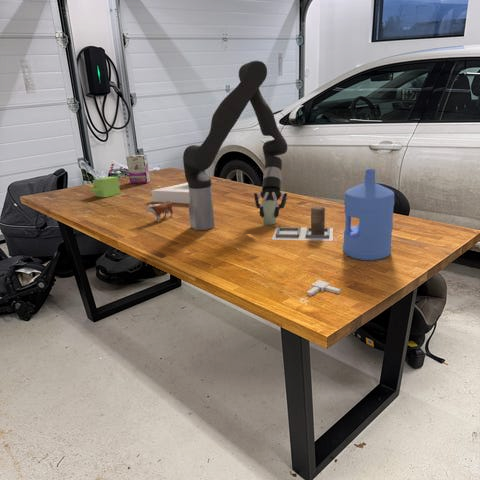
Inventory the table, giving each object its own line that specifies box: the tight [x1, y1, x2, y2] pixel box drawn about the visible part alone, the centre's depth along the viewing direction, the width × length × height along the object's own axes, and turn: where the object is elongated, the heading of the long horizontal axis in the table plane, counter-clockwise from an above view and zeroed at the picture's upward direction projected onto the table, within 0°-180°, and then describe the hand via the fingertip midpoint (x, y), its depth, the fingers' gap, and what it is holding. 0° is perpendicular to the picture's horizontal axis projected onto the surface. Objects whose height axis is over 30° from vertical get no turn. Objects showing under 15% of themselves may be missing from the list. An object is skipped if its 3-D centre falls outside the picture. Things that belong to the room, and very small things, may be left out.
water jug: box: [342, 168, 395, 261], centre depth 148 cm, size 16×16×28 cm
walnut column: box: [310, 205, 326, 235], centre depth 168 cm, size 5×5×10 cm
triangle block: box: [150, 182, 190, 205], centre depth 235 cm, size 30×26×6 cm
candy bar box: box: [126, 154, 151, 185], centre depth 269 cm, size 11×5×16 cm, turn 80°
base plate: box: [271, 226, 334, 242], centre depth 171 cm, size 22×14×2 cm, turn 78°
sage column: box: [262, 200, 277, 227], centre depth 183 cm, size 5×5×10 cm
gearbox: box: [89, 176, 121, 198], centre depth 247 cm, size 18×10×10 cm, turn 143°
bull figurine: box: [145, 201, 174, 223], centre depth 199 cm, size 4×13×8 cm, turn 137°
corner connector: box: [306, 279, 341, 296], centre depth 128 cm, size 8×8×2 cm
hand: (268, 216), depth 182 cm, fingers closed on sage column, 5 cm apart
